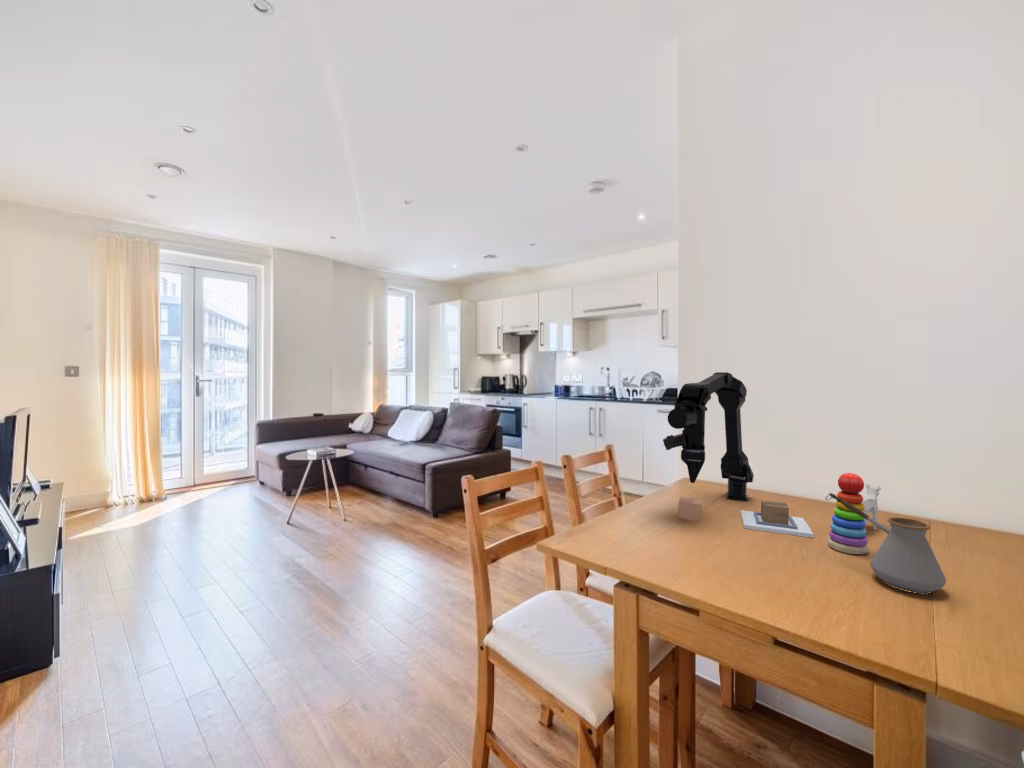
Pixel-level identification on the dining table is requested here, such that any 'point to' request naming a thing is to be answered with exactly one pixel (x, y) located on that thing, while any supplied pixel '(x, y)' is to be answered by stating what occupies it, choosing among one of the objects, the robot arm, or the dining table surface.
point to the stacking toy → (849, 518)
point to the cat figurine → (871, 502)
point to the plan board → (776, 525)
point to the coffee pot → (904, 554)
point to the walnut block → (774, 512)
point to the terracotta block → (689, 508)
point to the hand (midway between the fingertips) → (692, 479)
